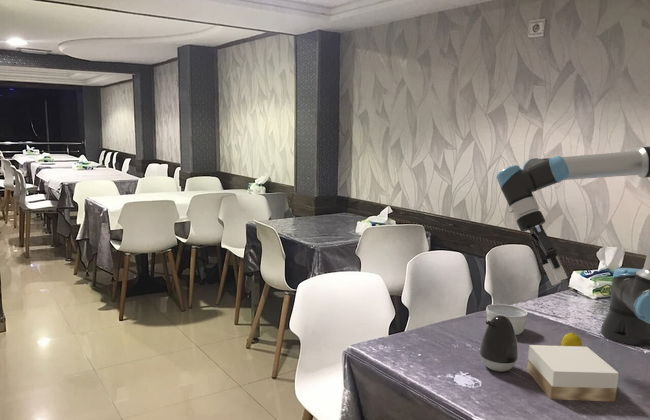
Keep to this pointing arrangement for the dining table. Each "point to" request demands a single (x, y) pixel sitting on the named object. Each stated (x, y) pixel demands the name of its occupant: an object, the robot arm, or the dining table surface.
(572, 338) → the lemon
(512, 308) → the ramekin
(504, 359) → the pump dispenser
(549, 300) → the dining table surface
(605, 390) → the tower base
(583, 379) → the tower top
